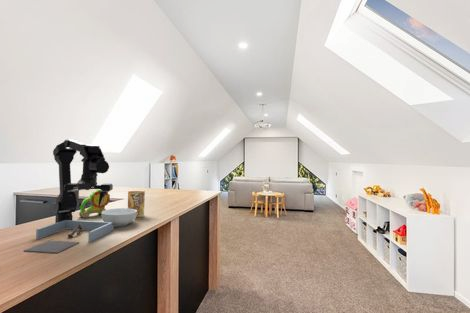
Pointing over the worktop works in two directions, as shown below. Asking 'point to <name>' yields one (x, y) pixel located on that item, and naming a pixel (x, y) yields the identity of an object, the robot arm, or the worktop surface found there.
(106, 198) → the toy lion
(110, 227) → the open box
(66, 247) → the mat
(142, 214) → the candy box
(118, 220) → the cereal bowl
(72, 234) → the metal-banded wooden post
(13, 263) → the worktop surface
